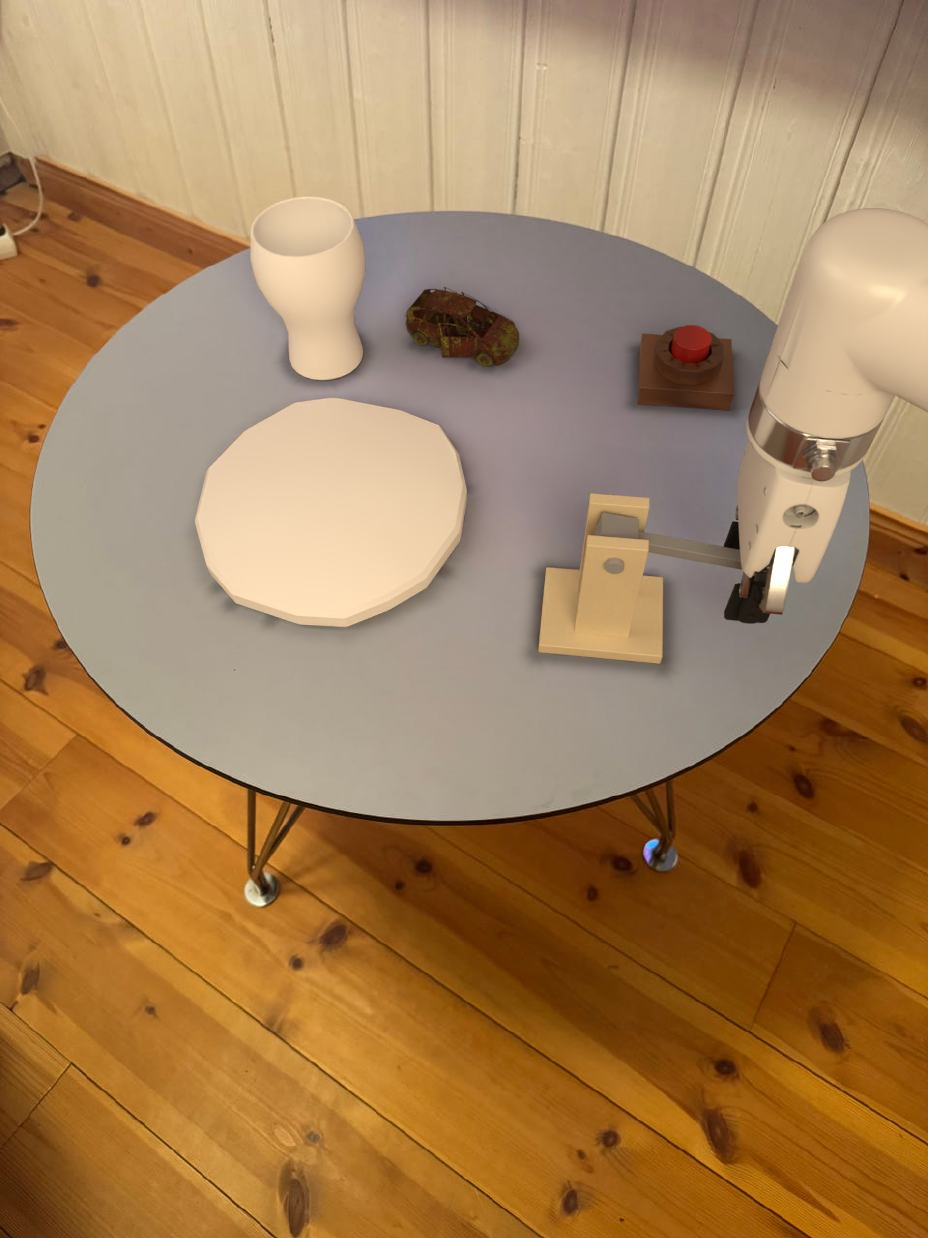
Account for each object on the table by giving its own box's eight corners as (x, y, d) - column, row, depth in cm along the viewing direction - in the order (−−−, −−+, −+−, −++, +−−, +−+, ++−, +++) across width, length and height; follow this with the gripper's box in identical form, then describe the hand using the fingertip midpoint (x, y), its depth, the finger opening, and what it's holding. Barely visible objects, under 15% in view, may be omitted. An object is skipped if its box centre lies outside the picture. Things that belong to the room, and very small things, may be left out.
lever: (758, 547, 72) (771, 529, 70) (761, 600, 69) (775, 582, 67) (595, 517, 71) (603, 497, 69) (591, 569, 68) (600, 549, 66)
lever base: (661, 584, 80) (687, 485, 69) (660, 664, 75) (688, 570, 65) (545, 574, 80) (554, 474, 70) (538, 652, 76) (546, 558, 65)
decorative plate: (259, 361, 90) (502, 415, 86) (268, 393, 94) (501, 446, 89) (131, 556, 77) (408, 631, 73) (147, 584, 81) (412, 658, 76)
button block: (726, 355, 95) (735, 324, 92) (729, 410, 91) (738, 379, 88) (639, 350, 96) (644, 318, 93) (637, 404, 92) (643, 372, 88)
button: (707, 340, 91) (711, 325, 90) (708, 364, 89) (712, 350, 88) (671, 337, 92) (673, 323, 90) (670, 362, 90) (673, 348, 88)
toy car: (396, 348, 97) (392, 310, 93) (427, 309, 100) (425, 271, 96) (499, 382, 94) (499, 344, 90) (527, 341, 97) (529, 302, 93)
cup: (255, 367, 96) (220, 238, 83) (316, 310, 101) (291, 180, 88) (337, 404, 93) (314, 275, 80) (396, 343, 98) (383, 212, 85)
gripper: (894, 530, 52) (799, 687, 67) (860, 329, 61) (784, 507, 76) (758, 518, 52) (695, 677, 68) (745, 321, 62) (692, 500, 77)
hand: (743, 585), depth 72 cm, fingers closed on lever, 5 cm apart
